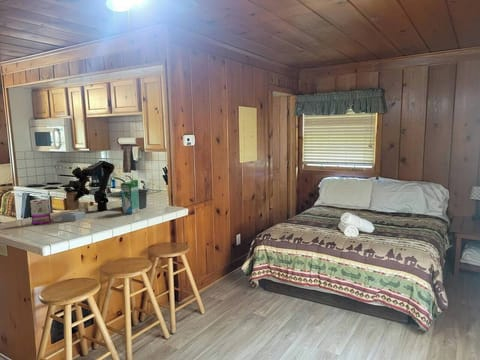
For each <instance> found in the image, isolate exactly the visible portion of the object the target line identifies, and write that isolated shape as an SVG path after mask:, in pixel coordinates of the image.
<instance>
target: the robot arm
mask: <svg viewBox="0 0 480 360" xmlns="http://www.w3.org/2000/svg"><path fill="white" fill-rule="evenodd" d="M100 169H102V172H103V173H102V177H101V181H100V183H99V188H98V190H95V191H94V195H93V199H94V200H93V201H94V202H95V204H97V205H96V208H97V209H96V212H105V211H108V210H109V208H108V205H107V204H108V203H109V198H108V197H107V192H106V190H107V187H108V183H109V179H110V176H111V175H112V174H113V173H114V170H115V165H114V164H113V163H111V162H108V161H106V160H98V162H96V163H95V164H93V165H92V166H90V167H86V168H83V169H82V168H81V167H79V166H77V167H76V168H75V169H73V170H72V171H71V174H72V175H73V176H74V177H75V178H76V180H69V182H68V186H65V187H64V188H63V191H64V192H66V193H69V192H77V195H76V197H75V199H74V201H76V200H78V199H80V198H83V197H85V196H89V195H90V194H91V192H90V190H89V189H88V188H87V187H86V185H87V183H88V182H89V183H90V182H91V180H90V177H93V176H94V175H95V173H96V172H97V171H98V170H100Z"/></svg>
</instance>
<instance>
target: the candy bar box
mask: <svg viewBox="0 0 480 360" xmlns="http://www.w3.org/2000/svg"><path fill="white" fill-rule="evenodd" d="M29 206H30V216H31V224H32V226H37V225H38V226H39V225H44V224H51V223H52V219H51V210H50V208H51V207H50V200H49V198H41V199H32V200H30V201H29Z"/></svg>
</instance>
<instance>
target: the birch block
mask: <svg viewBox="0 0 480 360" xmlns="http://www.w3.org/2000/svg"><path fill="white" fill-rule="evenodd" d="M77 212H85V214H87V213H89V202H87V201H79V209H77Z"/></svg>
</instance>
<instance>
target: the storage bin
mask: <svg viewBox="0 0 480 360" xmlns="http://www.w3.org/2000/svg"><path fill="white" fill-rule="evenodd" d="M138 191H139V210H140V209H144V208H147V201H148V200H147V199H148V198H147V195H148V194H147V193H149V190H148V189H142V188H141V189H139V188H138ZM119 192H120V193H121V190H119Z"/></svg>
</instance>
